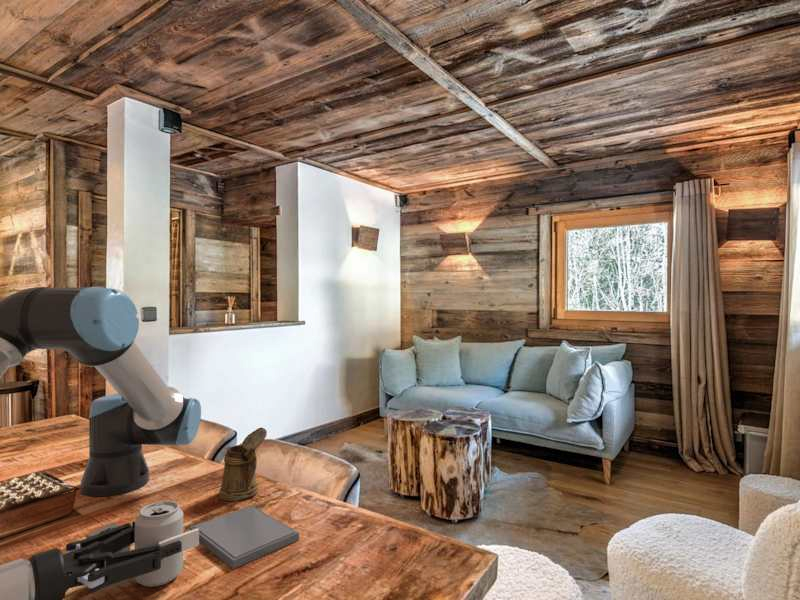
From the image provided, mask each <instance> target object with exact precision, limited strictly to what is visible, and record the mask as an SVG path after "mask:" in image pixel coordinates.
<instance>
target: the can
mask: <svg viewBox="0 0 800 600" xmlns="http://www.w3.org/2000/svg"><path fill="white" fill-rule="evenodd" d="M134 521H135V542H134V550H137V549H142V548H147V547H153V546H158V542H160V541H163V540H165V539H168V538H171V537H174V536H177V535H180V534H182V533H184V511H183V510H182V508H180V504H179V502H177V501H173V500H160V501H156V502H155V501H154V502H153V503H152V502H151V503H149V504H147V505H144V506H143V507H142V508H140V510H139V512H138V516H137V517H136V518H135V520H134ZM183 568H184V551H182V552H180V553H177V554H175V555H172V556H169V557H167V558H164V559H162V560H161V568H160V569H158V570H156V571H153V572H149V573H146V574H143V575H140V576H137V577H134V580H135V582H137V583H138V584H140V585H142V586H143V587H150V588H152V587H154V588H155V587H158V586H163V585H165V584H167V583H170V582H171V581H173V580H174V579H176V577H177V576H178V575H179V574H180V573H181V572H182V571H183Z"/></svg>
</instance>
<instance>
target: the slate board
mask: <svg viewBox="0 0 800 600" xmlns="http://www.w3.org/2000/svg"><path fill="white" fill-rule="evenodd" d="M196 528H198V529H199V544H201V545H202V546H204V547H205V548H206V549H207V550H209V551H210V552H211V553H212V554H214V555H215V556H216V557H217V558H219V559H220V560H222V561H223V562H224V563H225V564H226V565H228V566H229V567H231V569H233V570H235V569H237V568H239V567H241V566H243V565H246V564H248V563H251V562H253V561H255V560H257V559H259V558H262V557H265V556H267V555H268V554H270V553H273V552H276V551H278V550H280V549H282V548H284V547H287V546H289V545H291V544H293V543H295V542H298V541H300V532H299V531H297V530H295V529H293V528H292V527H290V526H289V525H286V524H285V523H283V522H282V521H280V520H279V519H276V518H275V517H273V516H271V515H269V513H266V512H264V511H262V510H261V509H260V508H258V507H256V506H254V505H249V506H246V507H244V508H239V509H237V510H235V511H232V512H229V513H225V514H223V515H220V516H217V517H214V518H212V519H209V520H206V521H202V522H200V523H197V524H194V525H192V526H189V531H191V530H194V529H196Z"/></svg>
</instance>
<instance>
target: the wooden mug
mask: <svg viewBox="0 0 800 600" xmlns="http://www.w3.org/2000/svg"><path fill="white" fill-rule="evenodd" d="M267 433H268V432H267V429H266V428H264V427H259V428H256V429H255V430H253V431H252V432H250V433H249V434H248V435H247V436H246V437H244V440H243V441H242V444H239V445H237V444H236V445H233V446H229V447H227V449H226V454H224V459H223V461H224V467H223V473H222V480H221V486H220V488H219V493H218V497H219V498H220V499H221V500H223V501H227V502H238V501H244V500H248V499H251V498H253V497H254V496H255V495H257V494H258V492H259V484H258V482H257V477H256V471H257V464H258V463H257V462H258V461H257V460H258V459H257V454H256V450H257V448H258V447H259V446H260V445H262V444H263V442H264V441H265V439H266V437H267Z"/></svg>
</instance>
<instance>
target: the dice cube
mask: <svg viewBox="0 0 800 600" xmlns="http://www.w3.org/2000/svg"><path fill="white" fill-rule="evenodd" d="M121 525H122V524H117V523H115V522H112V523H109V524H107V525H105V526H103V527H100V528H99V529H96V530H93V531H92V532H89V533H87V534H86V535H85V539H86V538H89V537H91V536H94V535H97V534H99V533H102V532H105V531H108V530H110V529H113V528H116V527H118V526H121ZM127 551H131V545H129V546H127V547H125V548H123V549H122V550H120V551H118V552H116V553H121V552H127ZM116 553H114V554H116ZM105 567H106V561H105Z"/></svg>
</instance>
